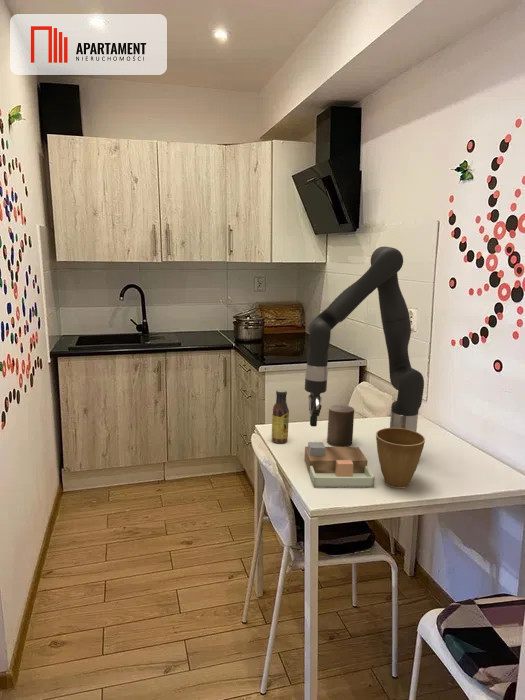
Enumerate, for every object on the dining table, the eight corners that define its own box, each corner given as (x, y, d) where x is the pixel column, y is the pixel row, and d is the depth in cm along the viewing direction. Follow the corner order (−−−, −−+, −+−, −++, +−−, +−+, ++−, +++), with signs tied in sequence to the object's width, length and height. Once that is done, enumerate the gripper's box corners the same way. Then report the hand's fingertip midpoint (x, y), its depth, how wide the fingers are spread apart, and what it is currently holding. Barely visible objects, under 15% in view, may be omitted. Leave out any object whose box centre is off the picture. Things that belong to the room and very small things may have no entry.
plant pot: (368, 472, 171) (372, 426, 168) (413, 474, 171) (417, 428, 168) (377, 493, 157) (381, 443, 154) (426, 495, 156) (431, 445, 153)
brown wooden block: (357, 460, 181) (358, 446, 180) (366, 475, 169) (367, 460, 168) (304, 460, 180) (304, 446, 179) (309, 474, 168) (310, 460, 167)
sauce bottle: (286, 444, 193) (288, 393, 189) (270, 443, 194) (271, 392, 191) (288, 438, 200) (291, 389, 196) (273, 437, 201) (274, 388, 197)
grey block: (322, 450, 176) (322, 442, 175) (325, 456, 171) (325, 447, 170) (307, 450, 175) (308, 442, 175) (310, 456, 171) (310, 447, 170)
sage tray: (366, 475, 169) (367, 465, 169) (374, 487, 160) (374, 477, 160) (309, 474, 168) (309, 465, 167) (313, 487, 159) (314, 477, 159)
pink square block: (351, 460, 167) (353, 463, 164) (350, 474, 168) (352, 478, 165) (336, 460, 167) (338, 463, 164) (335, 474, 167) (337, 478, 165)
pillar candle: (354, 447, 193) (356, 409, 190) (327, 446, 193) (330, 408, 190) (350, 438, 202) (352, 401, 199) (325, 437, 202) (327, 400, 200)
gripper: (330, 382, 170) (327, 432, 173) (323, 373, 183) (320, 419, 186) (308, 382, 169) (305, 432, 173) (302, 372, 182) (299, 419, 186)
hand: (313, 425), depth 179 cm, fingers closed
